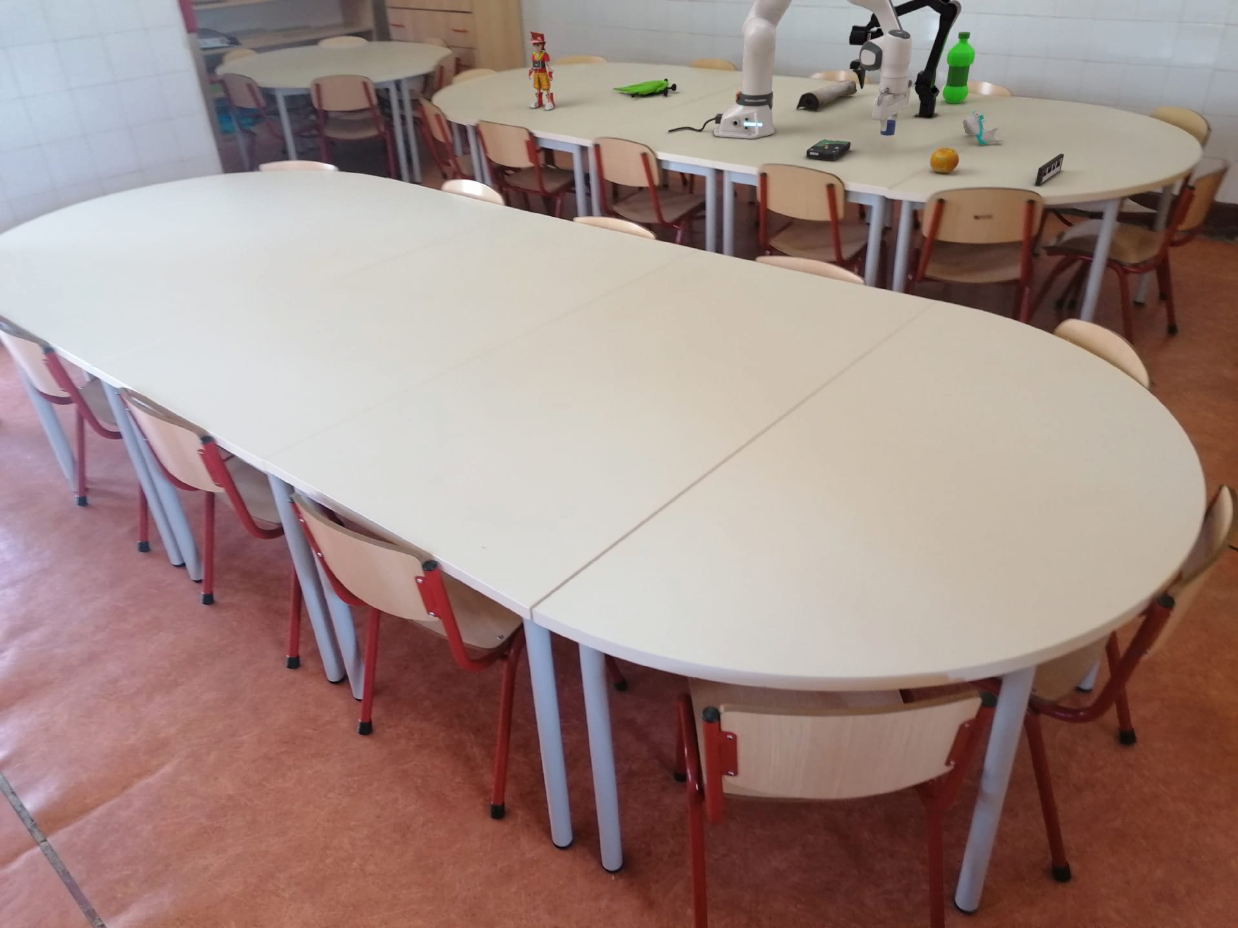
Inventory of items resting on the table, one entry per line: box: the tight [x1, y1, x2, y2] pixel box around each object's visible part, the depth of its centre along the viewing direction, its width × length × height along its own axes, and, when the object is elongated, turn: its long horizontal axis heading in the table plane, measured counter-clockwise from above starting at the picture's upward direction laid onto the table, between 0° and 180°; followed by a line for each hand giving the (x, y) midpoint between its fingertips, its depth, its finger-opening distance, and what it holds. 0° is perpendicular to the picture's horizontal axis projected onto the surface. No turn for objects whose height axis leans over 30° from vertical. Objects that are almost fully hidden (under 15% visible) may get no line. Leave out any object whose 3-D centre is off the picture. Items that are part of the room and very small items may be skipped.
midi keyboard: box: [1035, 153, 1065, 186], centre depth 273 cm, size 18×1×5 cm, turn 138°
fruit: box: [929, 147, 960, 174], centre depth 283 cm, size 8×8×8 cm
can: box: [879, 119, 897, 137], centre depth 302 cm, size 5×5×4 cm
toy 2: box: [612, 78, 677, 99], centre depth 396 cm, size 28×5×30 cm
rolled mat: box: [796, 79, 858, 112], centre depth 363 cm, size 30×9×10 cm
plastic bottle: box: [942, 31, 976, 104], centre depth 348 cm, size 10×10×25 cm
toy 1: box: [527, 31, 556, 111], centre depth 374 cm, size 12×9×30 cm
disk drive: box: [805, 138, 851, 161], centre depth 306 cm, size 10×3×15 cm
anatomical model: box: [962, 110, 1003, 146], centre depth 309 cm, size 15×10×10 cm
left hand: (887, 128), depth 302 cm, fingers closed on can, 4 cm apart
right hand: (872, 90), depth 345 cm, fingers open, 9 cm apart
